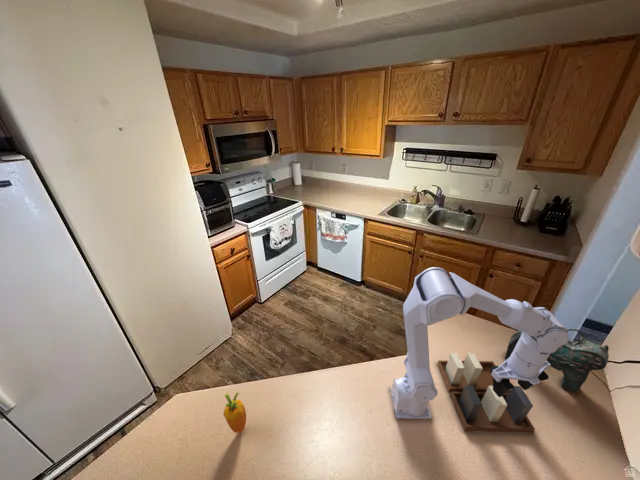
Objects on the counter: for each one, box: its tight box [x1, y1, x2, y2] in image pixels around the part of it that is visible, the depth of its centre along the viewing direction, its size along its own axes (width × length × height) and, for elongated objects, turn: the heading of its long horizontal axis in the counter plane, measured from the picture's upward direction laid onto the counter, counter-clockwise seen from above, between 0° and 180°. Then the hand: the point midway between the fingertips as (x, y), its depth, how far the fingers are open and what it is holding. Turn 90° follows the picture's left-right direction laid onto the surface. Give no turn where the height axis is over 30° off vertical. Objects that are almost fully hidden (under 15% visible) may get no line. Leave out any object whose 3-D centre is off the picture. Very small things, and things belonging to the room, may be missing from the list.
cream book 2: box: [463, 352, 483, 385], centre depth 77 cm, size 2×5×8 cm, turn 178°
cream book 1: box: [445, 352, 465, 385], centre depth 78 cm, size 2×5×8 cm, turn 178°
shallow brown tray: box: [436, 359, 511, 393], centre depth 79 cm, size 17×9×2 cm, turn 88°
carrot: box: [223, 392, 247, 434], centre depth 65 cm, size 5×5×15 cm
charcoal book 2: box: [505, 385, 534, 423], centre depth 68 cm, size 2×5×8 cm, turn 178°
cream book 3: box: [481, 386, 507, 422], centre depth 69 cm, size 2×5×8 cm, turn 178°
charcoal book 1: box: [458, 385, 482, 422], centre depth 69 cm, size 2×5×8 cm, turn 178°
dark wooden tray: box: [449, 392, 536, 434], centre depth 70 cm, size 17×9×2 cm, turn 88°
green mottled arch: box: [504, 327, 610, 394], centre depth 75 cm, size 20×6×20 cm, turn 49°
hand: (509, 389), depth 67 cm, fingers open, 7 cm apart
